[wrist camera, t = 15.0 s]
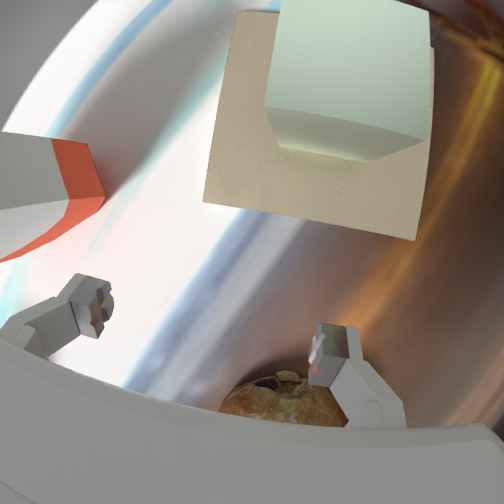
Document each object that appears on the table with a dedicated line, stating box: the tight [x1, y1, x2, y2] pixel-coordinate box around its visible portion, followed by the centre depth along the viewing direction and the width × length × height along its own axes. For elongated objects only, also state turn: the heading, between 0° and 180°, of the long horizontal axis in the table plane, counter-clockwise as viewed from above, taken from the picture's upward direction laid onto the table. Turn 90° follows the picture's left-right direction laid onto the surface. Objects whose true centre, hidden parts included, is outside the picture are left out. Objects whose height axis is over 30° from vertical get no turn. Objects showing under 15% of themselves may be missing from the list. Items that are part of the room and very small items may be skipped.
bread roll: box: [218, 370, 347, 428], centre depth 21 cm, size 10×10×8 cm
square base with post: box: [203, 11, 434, 241], centre depth 15 cm, size 14×14×9 cm
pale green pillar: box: [264, 0, 430, 163], centre depth 14 cm, size 6×6×10 cm
